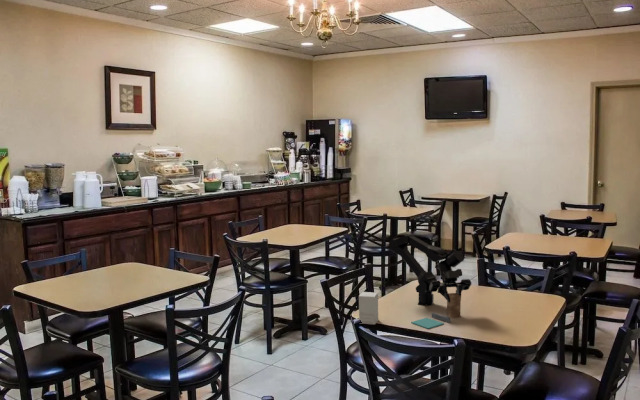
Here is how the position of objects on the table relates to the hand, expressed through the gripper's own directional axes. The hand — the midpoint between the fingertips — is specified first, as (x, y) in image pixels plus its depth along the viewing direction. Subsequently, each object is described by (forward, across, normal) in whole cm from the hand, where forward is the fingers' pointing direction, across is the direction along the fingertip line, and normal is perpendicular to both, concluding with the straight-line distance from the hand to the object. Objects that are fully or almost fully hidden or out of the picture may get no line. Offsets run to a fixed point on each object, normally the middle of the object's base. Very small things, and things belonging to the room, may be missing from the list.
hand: (454, 301), depth 245 cm
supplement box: (+5, -40, +5) cm, 41 cm away
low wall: (+7, -8, +3) cm, 11 cm away
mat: (+10, -15, 0) cm, 18 cm away
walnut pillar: (+4, 0, +6) cm, 7 cm away
